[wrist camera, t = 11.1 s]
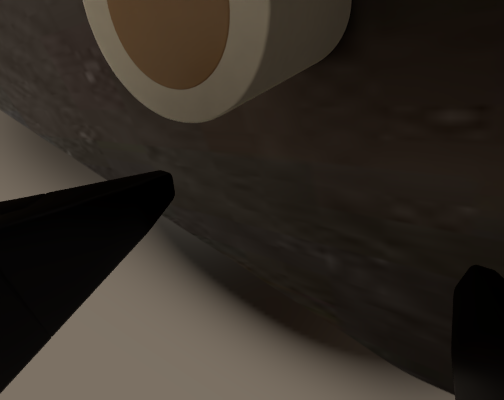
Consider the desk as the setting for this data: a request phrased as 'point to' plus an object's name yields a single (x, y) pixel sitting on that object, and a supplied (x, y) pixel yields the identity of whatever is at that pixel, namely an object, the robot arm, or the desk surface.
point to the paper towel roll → (212, 48)
